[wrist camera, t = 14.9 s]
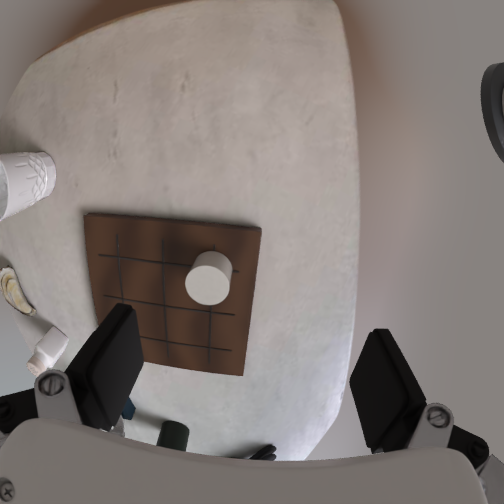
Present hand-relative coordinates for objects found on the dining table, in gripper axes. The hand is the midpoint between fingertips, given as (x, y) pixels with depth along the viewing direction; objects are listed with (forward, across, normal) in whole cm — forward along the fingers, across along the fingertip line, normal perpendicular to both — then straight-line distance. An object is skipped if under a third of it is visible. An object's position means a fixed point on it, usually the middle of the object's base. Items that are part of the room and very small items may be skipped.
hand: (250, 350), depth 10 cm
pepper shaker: (+22, +33, +25) cm, 46 cm away
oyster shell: (+22, +40, +16) cm, 48 cm away
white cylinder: (+21, +4, +7) cm, 22 cm away
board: (+22, +10, +13) cm, 28 cm away
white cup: (+22, +30, -3) cm, 38 cm away
